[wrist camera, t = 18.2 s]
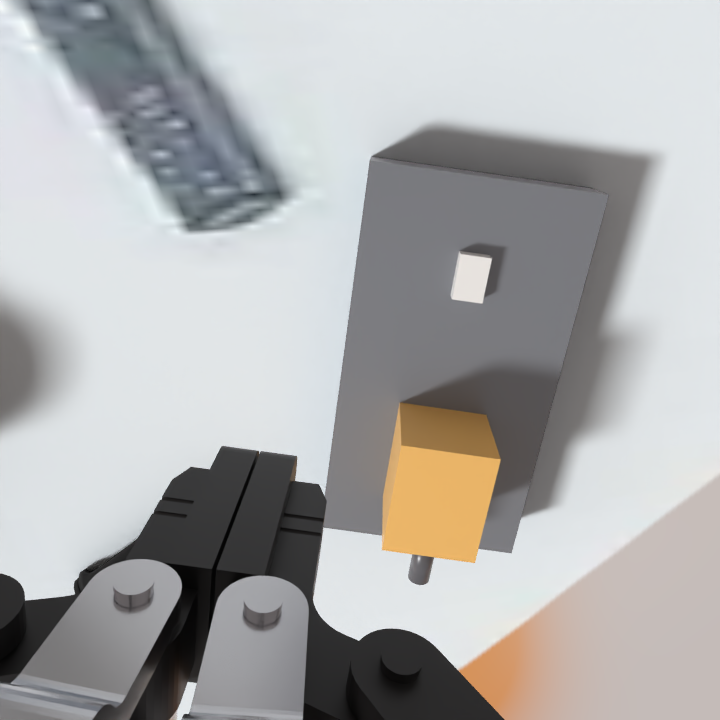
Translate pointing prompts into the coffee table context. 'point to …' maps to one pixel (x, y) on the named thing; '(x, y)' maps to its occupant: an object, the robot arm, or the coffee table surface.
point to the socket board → (457, 323)
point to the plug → (438, 486)
